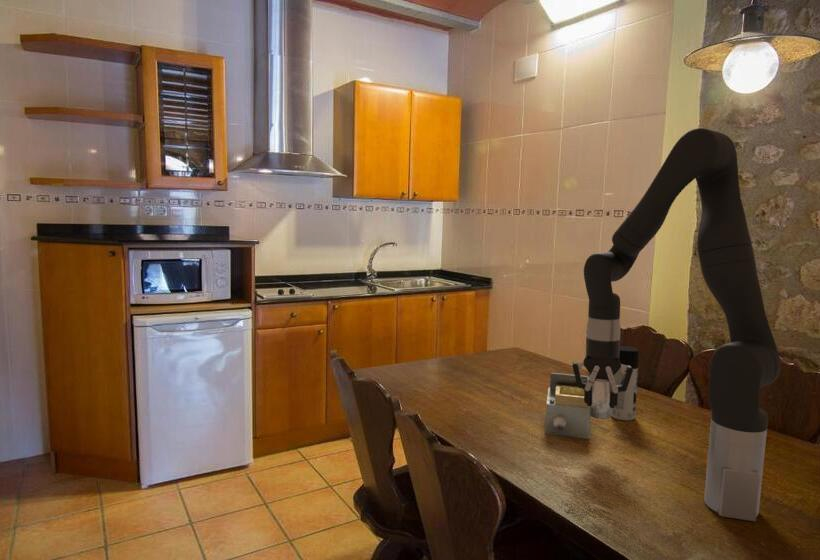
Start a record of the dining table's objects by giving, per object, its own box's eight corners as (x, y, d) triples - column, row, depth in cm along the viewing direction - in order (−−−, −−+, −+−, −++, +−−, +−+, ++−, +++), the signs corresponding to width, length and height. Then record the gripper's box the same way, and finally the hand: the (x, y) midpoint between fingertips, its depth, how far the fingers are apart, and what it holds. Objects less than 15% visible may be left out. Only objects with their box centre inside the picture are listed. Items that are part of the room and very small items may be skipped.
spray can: (637, 422, 147) (642, 352, 144) (611, 420, 148) (616, 350, 146) (632, 413, 153) (637, 346, 151) (607, 411, 155) (611, 344, 152)
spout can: (611, 420, 125) (613, 375, 124) (589, 418, 126) (591, 374, 125) (609, 413, 129) (611, 370, 128) (588, 411, 131) (590, 368, 130)
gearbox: (589, 443, 133) (592, 393, 131) (544, 438, 136) (546, 388, 134) (587, 419, 149) (590, 374, 147) (547, 414, 152) (549, 370, 150)
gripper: (571, 337, 124) (569, 408, 126) (637, 341, 120) (634, 414, 122) (571, 331, 131) (569, 398, 133) (633, 335, 127) (630, 404, 129)
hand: (600, 405), depth 127 cm, fingers closed on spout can, 4 cm apart
